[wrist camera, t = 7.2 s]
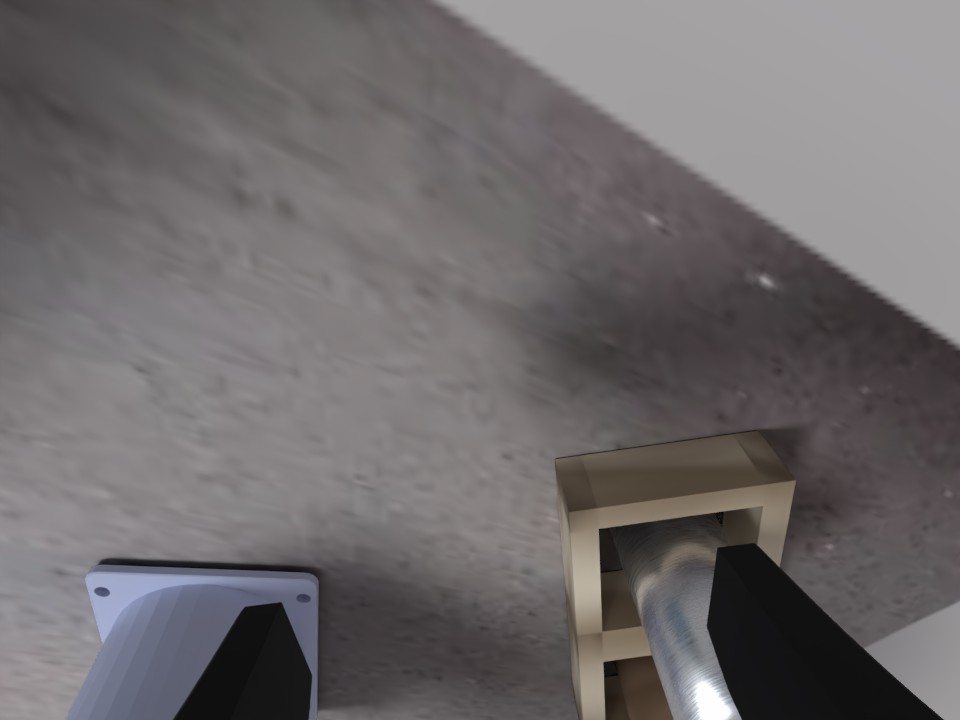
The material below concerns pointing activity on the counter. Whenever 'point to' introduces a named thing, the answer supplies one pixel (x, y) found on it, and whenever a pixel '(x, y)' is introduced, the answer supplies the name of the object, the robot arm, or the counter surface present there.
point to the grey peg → (678, 608)
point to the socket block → (645, 498)
